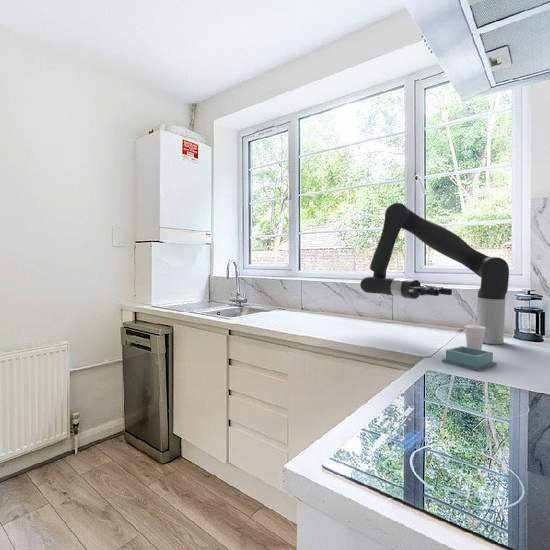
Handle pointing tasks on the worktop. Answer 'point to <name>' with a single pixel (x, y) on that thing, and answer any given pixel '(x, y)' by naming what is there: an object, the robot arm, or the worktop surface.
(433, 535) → the worktop surface
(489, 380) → the worktop surface
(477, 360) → the tray
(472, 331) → the smoothie
